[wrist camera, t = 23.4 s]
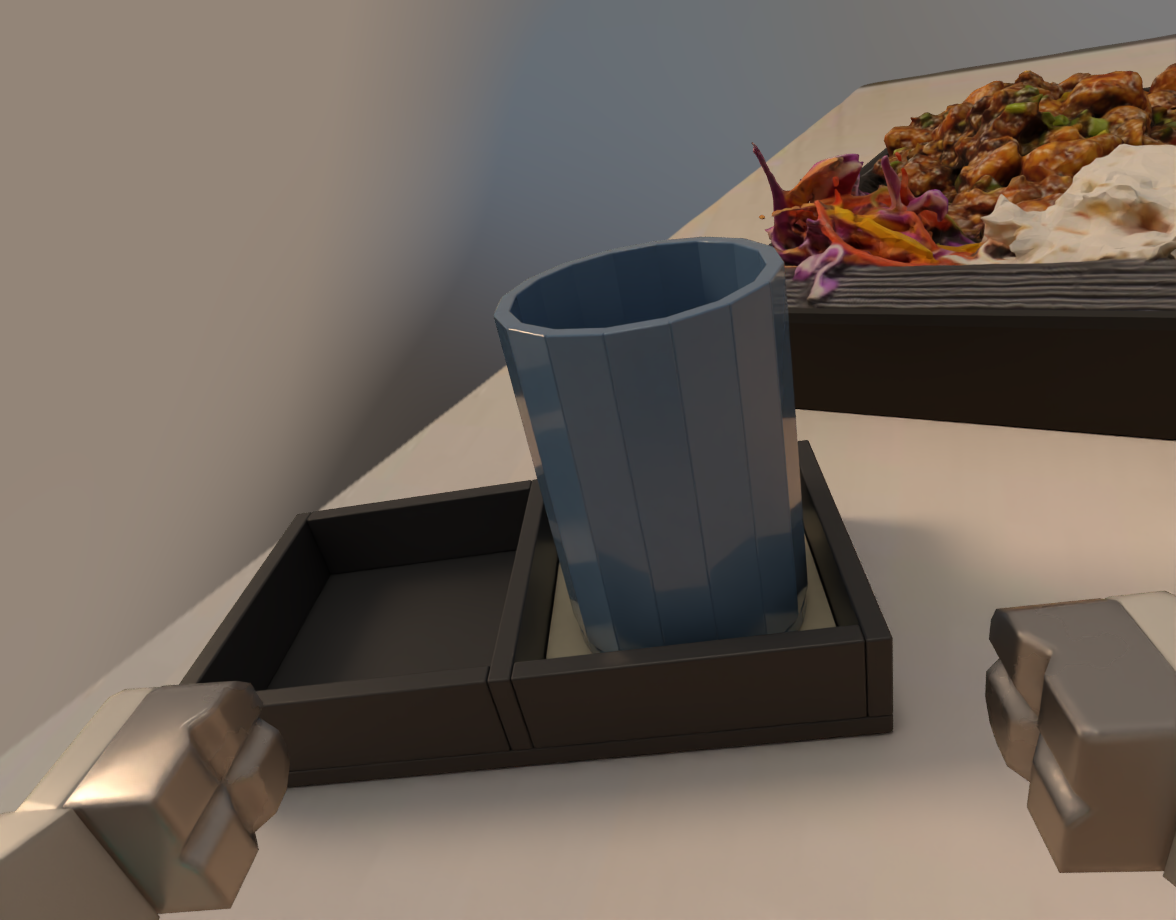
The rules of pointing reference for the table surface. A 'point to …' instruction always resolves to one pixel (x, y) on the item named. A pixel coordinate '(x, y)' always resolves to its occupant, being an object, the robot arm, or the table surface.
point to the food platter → (995, 262)
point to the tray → (522, 647)
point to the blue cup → (665, 438)
